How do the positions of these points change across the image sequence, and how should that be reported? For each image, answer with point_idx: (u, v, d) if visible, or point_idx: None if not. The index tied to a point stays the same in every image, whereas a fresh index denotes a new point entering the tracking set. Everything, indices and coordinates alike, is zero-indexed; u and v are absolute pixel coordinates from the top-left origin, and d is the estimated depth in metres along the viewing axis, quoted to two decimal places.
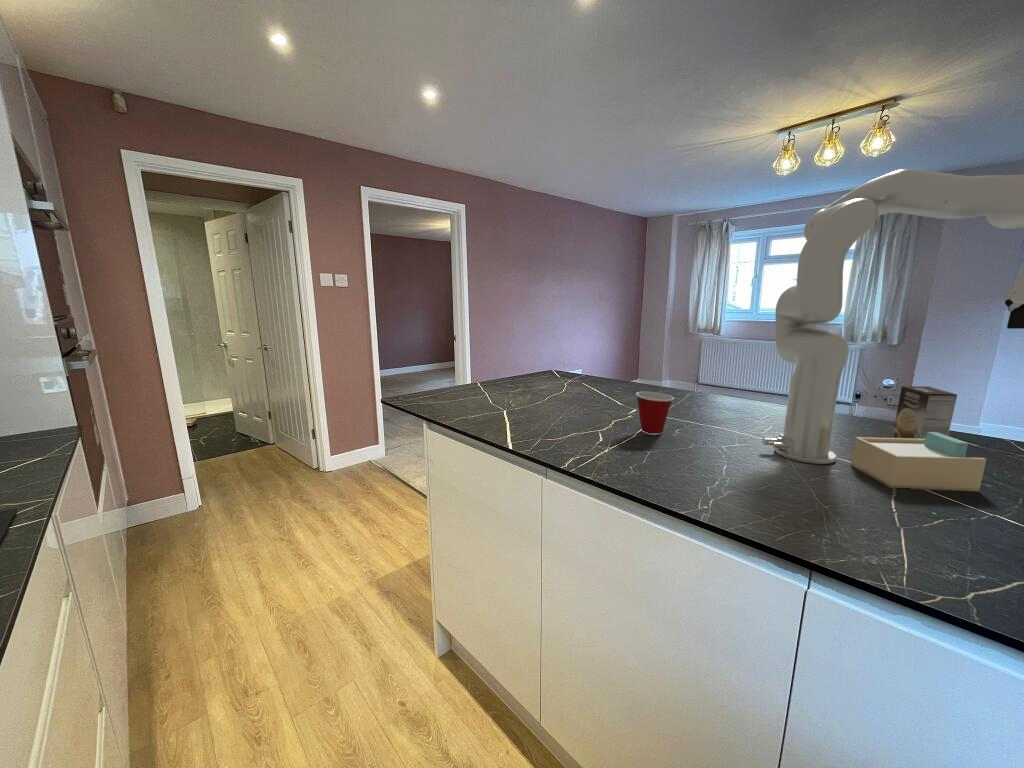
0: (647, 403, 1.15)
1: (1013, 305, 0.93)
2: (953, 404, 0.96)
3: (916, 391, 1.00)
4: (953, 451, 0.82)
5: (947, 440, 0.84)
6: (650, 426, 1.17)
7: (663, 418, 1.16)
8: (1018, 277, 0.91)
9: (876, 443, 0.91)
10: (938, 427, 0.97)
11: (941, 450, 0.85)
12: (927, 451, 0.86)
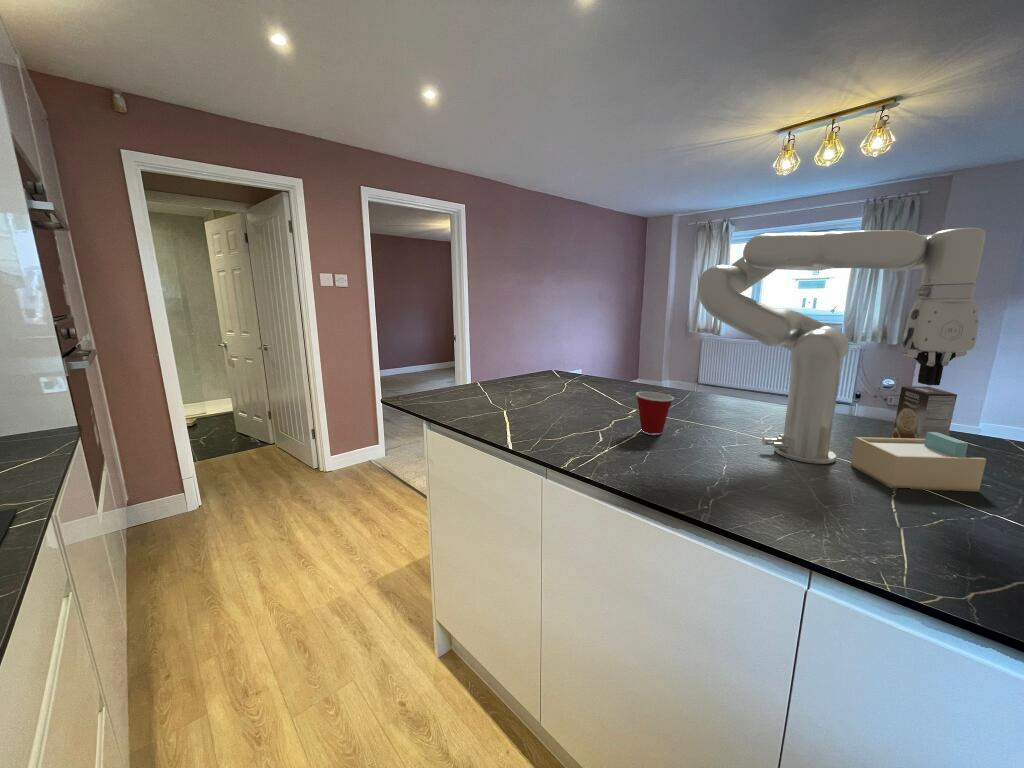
0: (647, 403, 1.15)
1: (935, 359, 0.81)
2: (953, 404, 0.96)
3: (916, 391, 1.00)
4: (953, 451, 0.82)
5: (947, 440, 0.84)
6: (650, 426, 1.17)
7: (663, 418, 1.16)
8: (928, 322, 0.79)
9: (876, 443, 0.91)
10: (938, 427, 0.97)
11: (941, 450, 0.85)
12: (927, 451, 0.86)
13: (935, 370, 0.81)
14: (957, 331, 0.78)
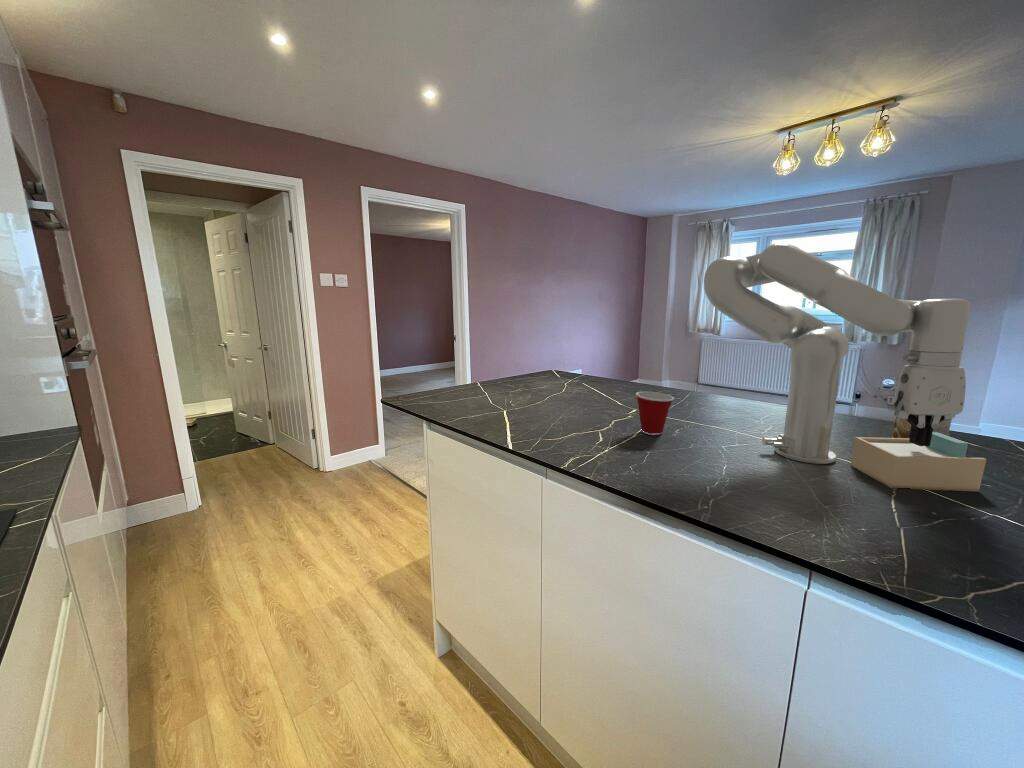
0: (647, 403, 1.15)
1: (925, 422, 0.83)
2: None
3: None
4: (953, 451, 0.82)
5: (947, 440, 0.84)
6: (650, 426, 1.17)
7: (663, 418, 1.16)
8: (917, 388, 0.81)
9: (876, 443, 0.91)
10: (938, 427, 0.97)
11: (941, 450, 0.85)
12: (927, 451, 0.86)
13: (925, 432, 0.84)
14: (945, 396, 0.81)
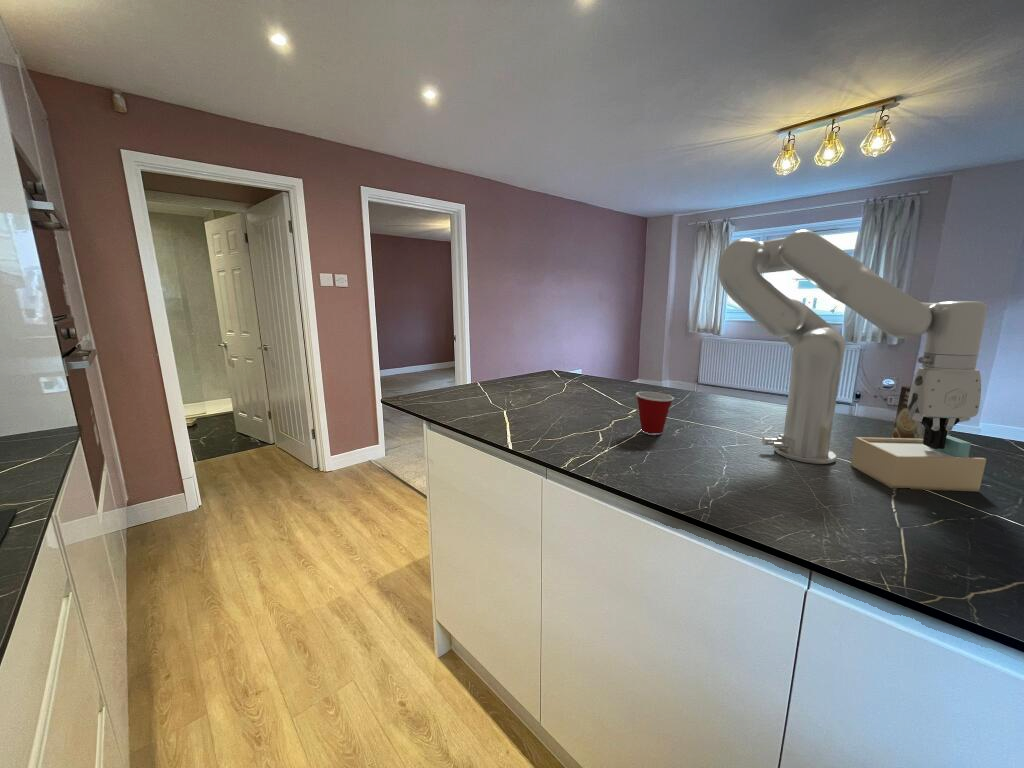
0: (647, 403, 1.15)
1: (939, 424, 0.83)
2: None
3: None
4: (956, 451, 0.82)
5: (950, 440, 0.84)
6: (650, 426, 1.17)
7: (663, 418, 1.16)
8: (932, 390, 0.81)
9: (879, 443, 0.91)
10: None
11: (944, 450, 0.85)
12: (930, 451, 0.86)
13: (940, 435, 0.83)
14: (960, 399, 0.81)
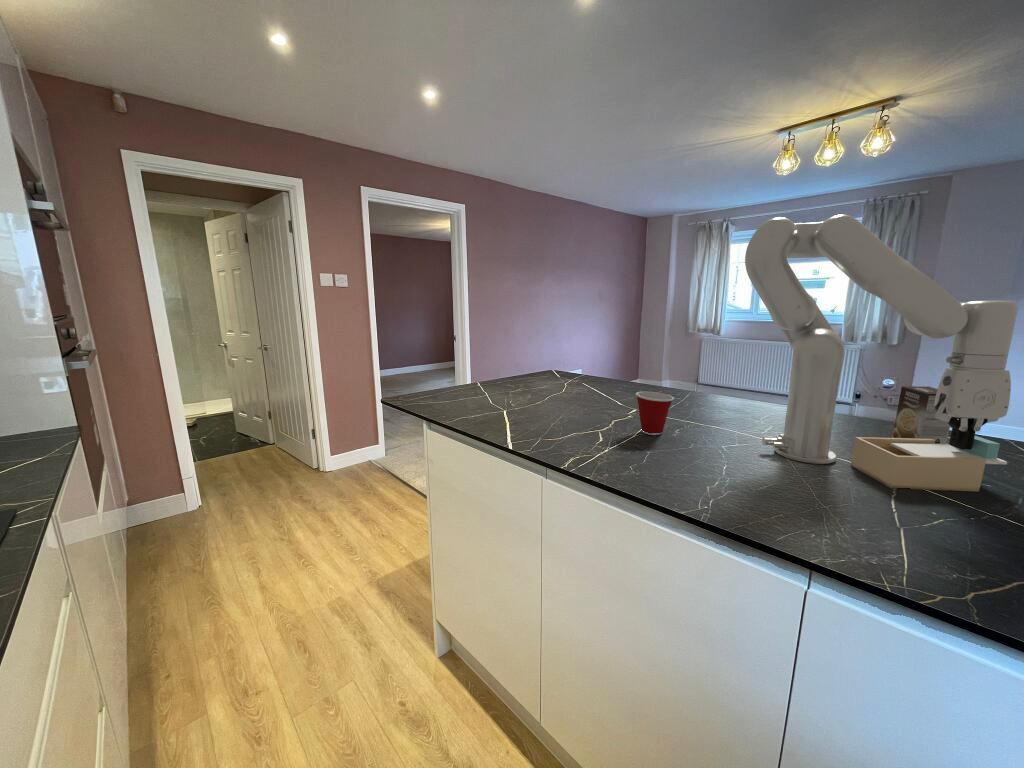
0: (647, 403, 1.15)
1: (967, 425, 0.83)
2: None
3: (916, 391, 1.00)
4: (985, 452, 0.82)
5: (978, 441, 0.83)
6: (650, 426, 1.17)
7: (663, 418, 1.16)
8: (961, 390, 0.80)
9: (904, 444, 0.90)
10: (938, 427, 0.97)
11: (971, 451, 0.84)
12: (957, 452, 0.85)
13: (967, 435, 0.83)
14: (990, 399, 0.80)
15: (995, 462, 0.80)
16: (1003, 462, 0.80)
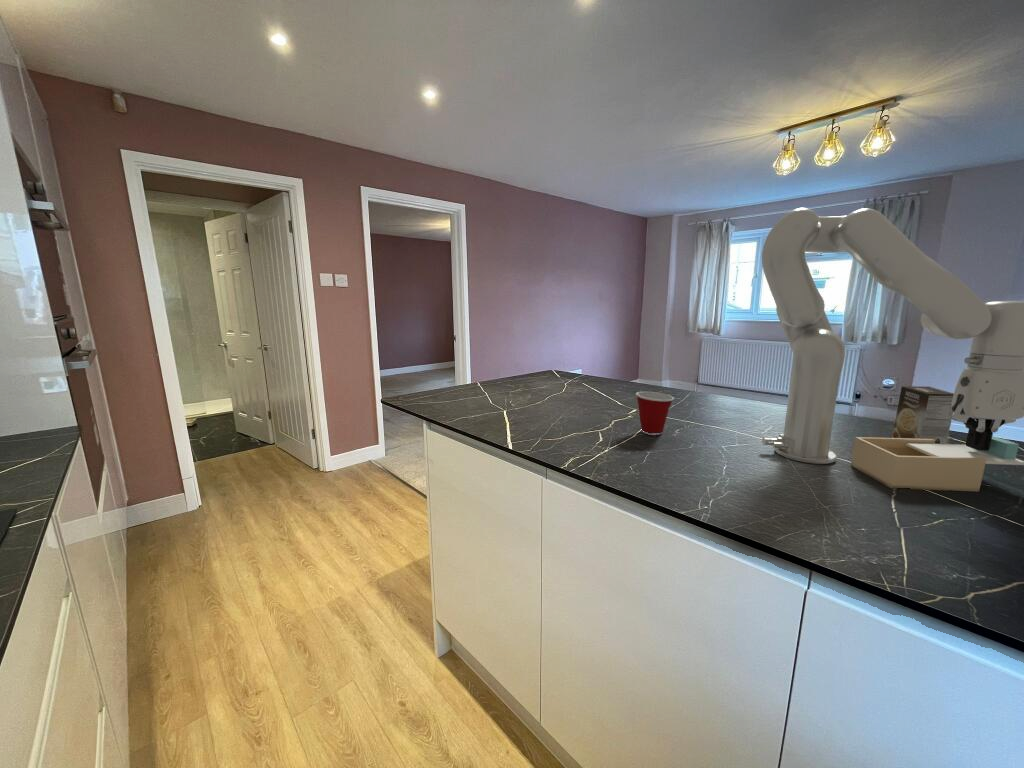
0: (647, 403, 1.15)
1: (985, 426, 0.82)
2: None
3: (916, 391, 1.00)
4: (1003, 452, 0.81)
5: (996, 441, 0.83)
6: (650, 426, 1.17)
7: (663, 418, 1.16)
8: (979, 391, 0.80)
9: (920, 444, 0.90)
10: (938, 427, 0.97)
11: (989, 451, 0.84)
12: (975, 452, 0.85)
13: (985, 436, 0.83)
14: (1008, 400, 0.80)
15: (1014, 463, 0.80)
16: (1022, 463, 0.80)
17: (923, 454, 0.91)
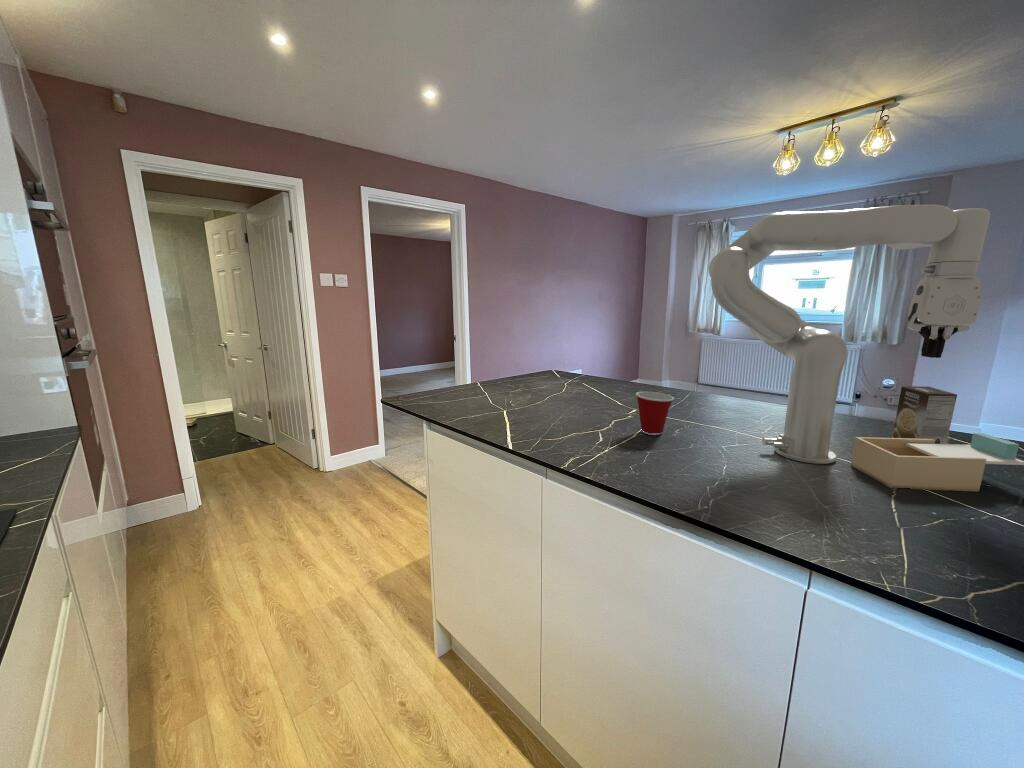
0: (647, 403, 1.15)
1: (937, 333, 0.87)
2: (953, 404, 0.96)
3: (916, 391, 1.00)
4: (1003, 452, 0.81)
5: (996, 441, 0.83)
6: (650, 426, 1.17)
7: (663, 418, 1.16)
8: (931, 297, 0.84)
9: (920, 444, 0.90)
10: (938, 427, 0.97)
11: (989, 451, 0.84)
12: (975, 452, 0.85)
13: (937, 343, 0.87)
14: (959, 306, 0.84)
15: (1014, 463, 0.80)
16: (1022, 463, 0.80)
17: (923, 454, 0.91)
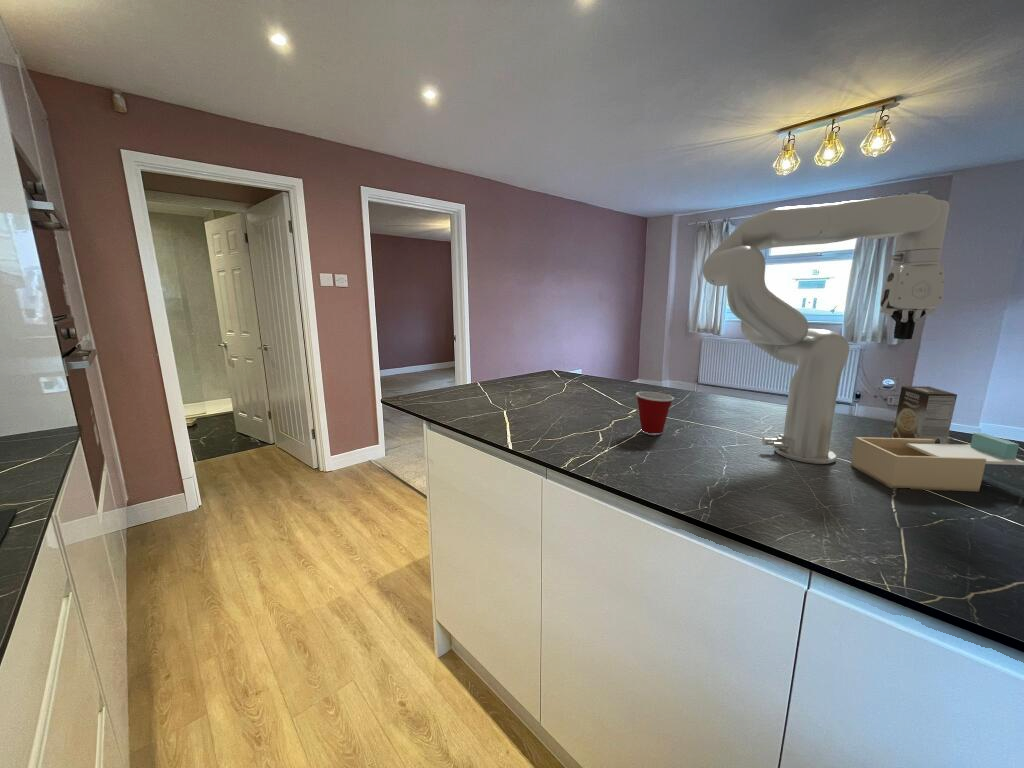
0: (647, 403, 1.15)
1: (908, 316, 0.93)
2: (953, 404, 0.96)
3: (916, 391, 1.00)
4: (1003, 452, 0.81)
5: (996, 441, 0.83)
6: (650, 426, 1.17)
7: (663, 418, 1.16)
8: (901, 283, 0.91)
9: (920, 444, 0.90)
10: (938, 427, 0.97)
11: (989, 451, 0.84)
12: (975, 452, 0.85)
13: (908, 325, 0.94)
14: (926, 290, 0.91)
15: (1014, 463, 0.80)
16: (1022, 463, 0.80)
17: (923, 454, 0.91)
